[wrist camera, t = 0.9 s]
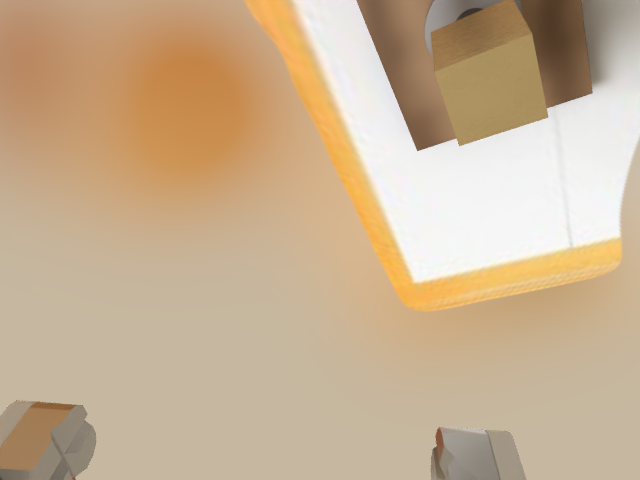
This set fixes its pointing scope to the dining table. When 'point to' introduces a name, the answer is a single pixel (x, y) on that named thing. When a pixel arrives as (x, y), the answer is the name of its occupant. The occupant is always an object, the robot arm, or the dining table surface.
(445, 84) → the wooden cube block
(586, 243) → the dining table surface
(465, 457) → the robot arm
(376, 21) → the walnut board
